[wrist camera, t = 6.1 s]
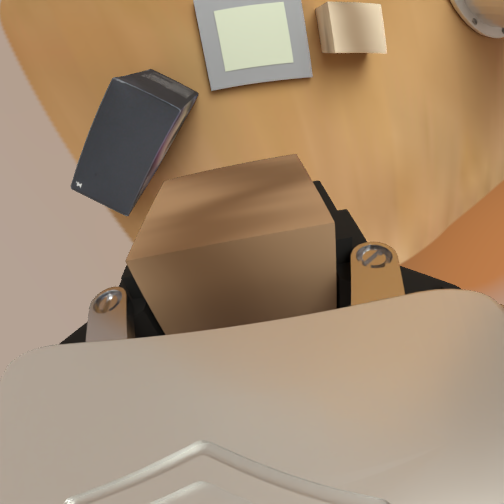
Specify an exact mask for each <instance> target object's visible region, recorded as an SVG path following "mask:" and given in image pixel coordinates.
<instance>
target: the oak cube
mask: <svg viewBox="0 0 504 504" xmlns="http://www.w3.org/2000/svg"><path fill="white" fill-rule="evenodd" d="M315 11H316V17H317V23H318V29H319V36H320V42H321V49H322V53H385V54H387V48H386V39H385V31H384V23H383V16H382V10H381V4H372V3H356V2H326V3H324V4H323V5H321V6H319V7H318V8H316V9H315Z"/></svg>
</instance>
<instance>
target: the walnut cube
mask: <svg viewBox="0 0 504 504" xmlns="http://www.w3.org/2000/svg"><path fill="white" fill-rule="evenodd" d="M126 263H127V265H128V267H129V269H130V271H131V273H132V275H133V277H134V279H135V281H136V283H137V285H138V287H139V288H140V290H141V292H142V294H143V296H144V298H145V300H146V301H147V303H148V305H149V307H150V309H151V310H152V312H153V314H154V316H155V318H156V319H157V321H158V323H159V324H160V326H161V328H162V330H163V331H164V333H165V335H171V334H180V333H188V332H196V331H204V330H212V329H219V328H226V327H233V326H240V325H247V324H253V323H260V322H266V321H272V320H278V319H284V318H290V317H295V316H301V315H306V314H312V313H317V312H323V311H328V310H333V309H337V286H336V241H335V222H334V220H333V218H332V216H331V214H330V212H329V211H328V209H327V207H326V205H325V203H324V201H323V200H322V198H321V196H320V194H319V192H318V191H317V189H316V187H315V185H314V183H313V182H312V180H311V178H310V176H309V175H308V173H307V171H306V169H305V168H304V166H303V164H302V162H301V161H300V159H299V157H298V156H297V154H293V155H286V156H280V157H275V158H269V159H263V160H258V161H252V162H247V163H242V164H237V165H232V166H227V167H222V168H218V169H213V170H208V171H204V172H199V173H195V174H191V175H186V176H182V177H178V178H174V179H170V180H166V181H164V182H163V184H162V186H161V188H160V190H159V192H158V194H157V196H156V198H155V200H154V202H153V204H152V206H151V208H150V210H149V212H148V214H147V216H146V218H145V220H144V222H143V224H142V226H141V228H140V230H139V232H138V235H137V237H136V239H135V241H134V243H133V245H132V248H131V250H130V252H129V254H128V257H127V259H126Z"/></svg>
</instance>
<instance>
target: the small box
mask: <svg viewBox="0 0 504 504" xmlns="http://www.w3.org/2000/svg"><path fill="white" fill-rule="evenodd" d="M197 96H198V93H197V92H196V91H194V90H192V89H190V88H188V87H186V86H184V85H183V84H181V83H179V82H177V81H175V80H173V79H171V78H169V77H167V76H165V75H163V74H161V73H158V72H156V71H154V70H152V69H150V70H147V71H142V72H138V73H134V74H130V75H126V76H121V77H114V78H112V80H111V82H110V84H109V86H108V88H107V91H106V93H105V95H104V97H103V99H102V102H101V104H100V106H99V109H98V111H97V113H96V116H95V118H94V121H93V123H92V126H91V128H90V131H89V133H88V136H87V139H86V141H85V144H84V147H83V150H82V153H81V155H80V158H79V161H78V164H77V167H76V171H75V174H74V177H73V181H72V184H71V189H72V190H75V191H76V192H78V193H81V194H82V195H85V196H87V197H88V198H90V199H93V200H94V201H97V202H99V203H100V204H102V205H105V206H107V207H108V208H111V209H113V210H115V211H117V212H119V213H121V214H123V215H125V216H129V214H130V212H131V211H132V209H133V207H134V206H135V204H136V203H137V201H138V199H139V198H140V196H141V195H142V193H143V191H144V190H145V188H146V187H147V185H148V183H149V182H150V180H151V178H152V177H153V175H154V174H155V172H156V170H157V169H158V167H159V165H160V163H161V162H162V160H163V158H164V156H165V154H166V153H167V151H168V149H169V147H170V146H171V144H172V142H173V140H174V138H175V137H176V135H177V133H178V131H179V129H180V127H181V126H182V124H183V122H184V120H185V119H186V117H187V115H188V113H189V112H190V110H191V108H192V106H193V104H194V102H195V100H196V98H197Z"/></svg>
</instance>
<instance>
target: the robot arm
mask: <svg viewBox="0 0 504 504" xmlns="http://www.w3.org/2000/svg"><path fill="white" fill-rule="evenodd" d="M450 1H451V3H452V5H453V7H454V8H455V10H456V11H457V13H458V14H459V15H460V17H461V18H462V19H463V20H464V21H465V22H466V24H467V25H469V26H470V27H471V28H472V29H473V30H475V31H476V32H478V33H479V34H481V35H484V36H486V37H491V38H502V37H504V0H450ZM313 183H314V185H315V187H316V189H317V191H318V192H319V194H320V196H321V198H322V200H323V201H324V203H325V205H326V207H327V209H328V211H329V212H330V214H331V216H332V218H333V220H334V222H335V241H336V286H337V309H333V310H328V311H323V312H317V313H312V314H306V315H301V316H295V317H290V318H284V319H278V320H272V321H266V322H260V323H253V324H247V325H240V326H233V327H226V328H219V329H212V330H204V331H196V332H188V333H180V334H171V335H165V333H164V331H163V330H162V328H161V326H160V324H159V323H158V321H157V319H156V318H155V316H154V314H153V312H152V310H151V309H150V307H149V305H148V303H147V301H146V300H145V298H144V296H143V294H142V292H141V290H140V288H139V287H138V285H137V283H136V281H135V279H134V277H133V275H132V273H131V271H130V269H129V267H128V265H127V266H126V268H125V270H124V273H123V275H122V278H121V279H122V280H121V283H120V285H119V287H111V288H108V289H105V290H103V291H102V292H100V293H99V294H98V295H97V296H96V297H95V298H94V299H93V300H92V302H91V304H90V307H89V314H88V322H87V323H86V324H84V325H83V326H82V327H80V328H79V329H78V330H76V331H75V332H74V333H73V334H71V335H70V336H69V337H68V338H66V339H65V340H64V341H62V342H61V343H60V344H58V345H51V346H45V347H40V348H37V349H34V350H31V351H29V352H26V353H25V354H22V355H20V356H19V357H17V358H16V359H14V360H13V361H12V362H11V363H10V364H9V365H8V367H7V369H6V370H5V372H4V374H3V376H2V377H1V380H0V504H504V305H502V304H499V303H498V302H497V301H495V300H494V299H492V298H491V297H490V296H487V295H485V294H483V293H479V292H476V291H471V290H462V289H460V288H459V287H457V286H455V285H453V284H450V283H447V282H445V281H442V280H439V279H436V278H433V277H430V276H428V275H425V274H422V273H419V272H416V271H413V270H410V269H408V268H405V267H402V266H400V265H399V261H398V256H397V254H396V251H395V250H394V249H393V248H392V247H390V246H388V245H386V244H384V243H380V242H367V241H366V239H365V238H364V236H363V234H362V233H361V231H360V229H359V228H358V226H357V225H356V223H355V221H354V220H353V218H352V217H351V215H350V213H349V212H348V211H347V210H346V209H345V210H339V211H337V209H336V207H335V206H334V204H333V202H332V201H331V199H330V197H329V196H328V194H327V192H326V191H325V189H324V187H323V186H322V184H321V182H320V181H313Z"/></svg>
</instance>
